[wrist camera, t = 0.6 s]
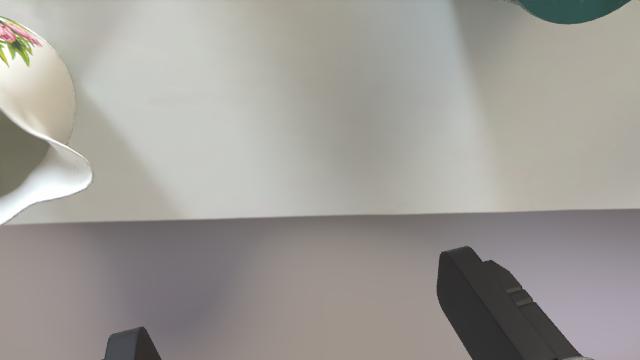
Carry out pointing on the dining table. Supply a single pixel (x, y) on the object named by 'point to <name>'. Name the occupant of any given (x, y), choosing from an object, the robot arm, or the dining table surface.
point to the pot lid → (570, 9)
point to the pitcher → (35, 124)
